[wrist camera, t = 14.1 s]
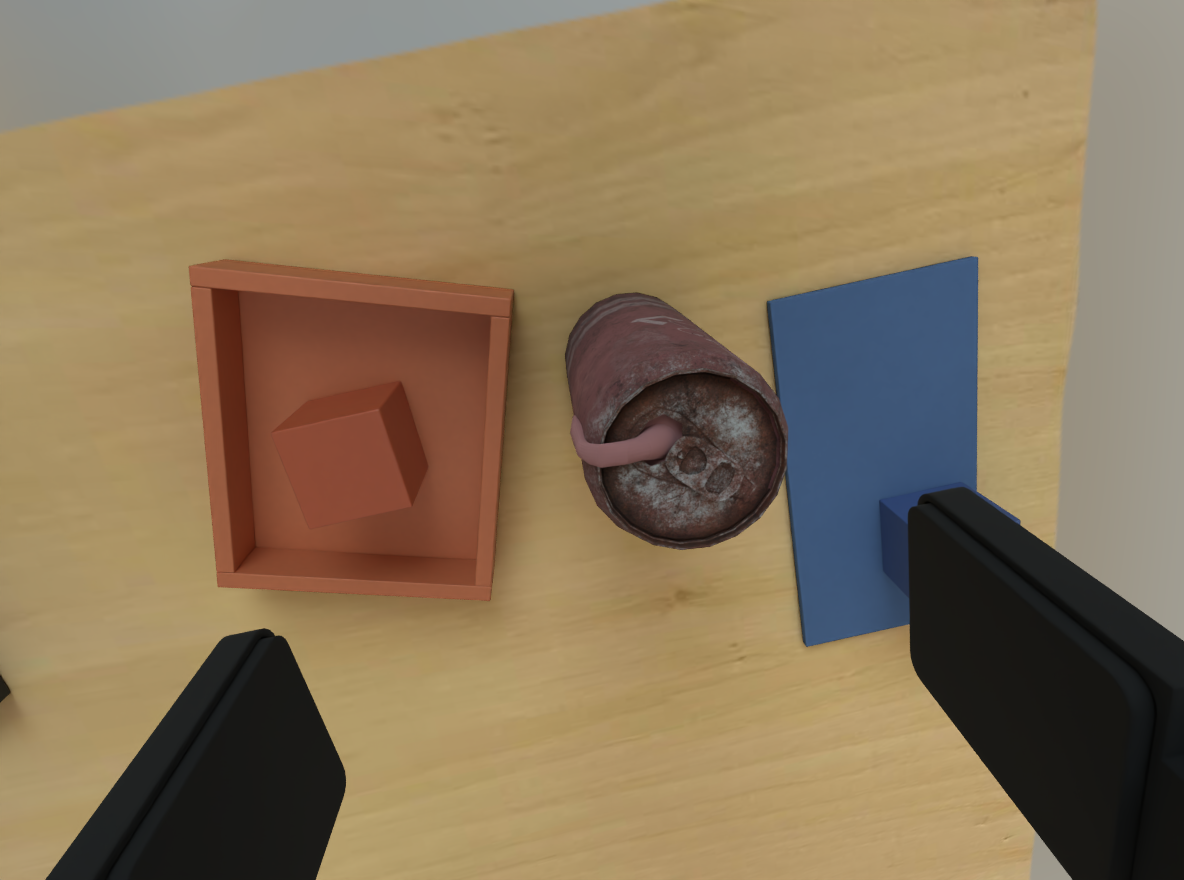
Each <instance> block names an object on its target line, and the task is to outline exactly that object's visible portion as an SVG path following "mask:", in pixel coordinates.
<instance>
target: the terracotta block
mask: <svg viewBox="0 0 1184 880" xmlns="http://www.w3.org/2000/svg"><path fill="white" fill-rule="evenodd" d="M271 437H272V439H273V442H274V444H275V447H276V449H277V452H278V454H279V456H280V459H281V461H282V464H283V466H284V469H285V471H286V474H287V476H288V479H289V481H290V484H291V486H292V489H293V491H294V493H295V496H296V498H297V501H298V503H299V506H300V508H301V511H302V513H303V516H304V518H305V521H306V523H307V525H308V528H309V529H315V528H320V527H324V526H329V525H333V524H338V523H342V522H347V521H352V520H356V519H361V518H365V517H370V516H374V515H379V514H383V513H388V512H392V511H397V510H402V509H406V508H411V507H412V506H413V504H414V501H415V499H416V496H417V494H418V492H419V489H420V487H421V484H422V482H423V480H424V477H425V475H426V472H427V470H428V467H429V466H428V463H427V460H426V457H425V454H424V451H423V448H422V444H421V441H420V438H419V435H418V432H417V429H416V426H415V423H414V419H413V416H412V413H411V410H410V407H409V404H408V401H407V397H406V394H405V391H404V388H403V385H402V382H401V381H396V382H391V383H387V384H382V385H378V386H373V387H369V388H364V389H360V390H355V391H350V392H346V393H341V394H337V395H332V396H328V397H323V398H319V399H314V400H309V401H307V402H306V403H304V404H303V405H302V406H301V407H300V408H299V409H297V410H296V411H295V412H294V413H293V414H292V415H291V416H289V417H288V418H287V419H286V420H285V421H284V422H282V423H281V424H280V425H279V426H278V427H277V428H275V429H274V430H273V431H272V432H271Z"/></svg>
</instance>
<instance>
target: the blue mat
mask: <svg viewBox="0 0 1184 880" xmlns="http://www.w3.org/2000/svg"><path fill="white" fill-rule="evenodd" d="M767 308H768V318H769V327H770V336H771V345H772V355H773V364H774V373H775V383H776V392H777V397H778V398H779V400H780V403H781V406H782V409H783V413H784V416H785V419H786V422H787V425H788V454H787V469H786V472H785V476H786V485H787V494H788V504H789V513H790V522H791V532H792V541H793V550H794V560H795V569H796V578H797V588H798V597H799V606H800V615H801V625H802V634H803V642H804V644H805V645H806V647H808V646H813V645H817V644H822V643H826V642H831V641H835V640H840V639H844V638H849V637H853V636H858V635H862V634H867V633H871V632H876V631H880V630H885V629H889V628H894V627H898V626H903V625H908V624H910V614H909V598H908V597H907V596H906V595H905V594H904V593H903V592H902V591H901V590H900V589H899V588H898V586H897V585H896V584H895V583H894V582H893V581H892V580H891V579H890V578H889V577H888V576H887V575H886V574H885V573H884V571H883V557H882V538H881V519H880V500H881V499H886V498H890V497H895V496H899V495H904V494H908V493H913V492H917V491H922V490H927V489H931V488H936V487H940V486H945V485H949V484H954V483H958V482H963V483H965V484H966V485H968V486H969V487H971V488H972V489H974V490H975V491H977V350H978V257H972V256H971V257H967V258H962V259H958V260H953V261H949V262H944V263H940V264H935V265H930V266H926V267H921V268H917V269H912V270H908V271H903V272H899V273H894V274H889V275H885V276H880V277H876V278H871V279H867V280H862V281H857V282H853V283H848V284H844V285H839V286H835V287H830V288H826V289H821V290H816V291H812V292H807V293H803V294H798V295H794V296H789V297H785V298H780V299H775V300H771V301H767Z"/></svg>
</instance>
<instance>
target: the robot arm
mask: <svg viewBox="0 0 1184 880" xmlns="http://www.w3.org/2000/svg"><path fill="white" fill-rule="evenodd" d="M908 562H909V614H910V654H911V660H912V664H913V666H914V669H915V671H916V673H917V675H918V677H919V678H920V680H921V681H922V683H923V684H924V685H925V687H926V688H927V689H928V691H929V692H930V693H931V695H932V696H933V697H934V698H935V700H936V701H937V702H938V704H939V705H940V706H941V708H942V709H943V710H944V712H945V713H946V714H947V716H948V717H949V718H950V719H951V721H952V722H953V723H954V725H955V726H956V727H957V729H958V730H959V731H960V733H961V734H962V735H963V737H964V738H965V739H966V740H967V742H968V743H969V744H970V746H971V747H972V748H973V750H974V751H975V752H976V754H977V755H978V756H979V758H980V759H981V760H982V761H983V763H984V764H985V765H986V767H987V768H988V769H989V771H990V772H991V773H992V775H993V776H994V777H995V779H996V780H997V781H998V782H999V784H1000V785H1001V786H1002V788H1003V789H1004V790H1005V792H1006V793H1007V794H1008V796H1009V797H1010V798H1011V800H1012V801H1013V802H1014V803H1015V805H1016V806H1017V807H1018V809H1019V810H1020V811H1021V813H1022V814H1023V815H1024V817H1025V818H1026V819H1027V821H1028V822H1029V823H1030V824H1031V826H1032V827H1033V828H1034V830H1035V831H1036V832H1037V834H1038V835H1039V836H1040V838H1041V839H1042V840H1043V841H1044V843H1045V844H1046V845H1047V847H1048V848H1049V849H1050V851H1051V852H1052V853H1053V855H1054V856H1055V857H1056V858H1057V860H1058V861H1059V862H1060V864H1061V865H1062V866H1063V868H1064V869H1065V870H1066V872H1067V873H1068V874H1069V876H1070V877H1071V878H1072V880H1184V641H1183V640H1181V639H1180V638H1179V637H1177V636H1176V635H1174V634H1173V633H1172V632H1170V631H1169V630H1167V629H1166V628H1164V627H1163V626H1162V625H1160V624H1159V623H1157V622H1156V621H1155V620H1153V619H1152V618H1150V617H1149V616H1148V615H1146V614H1145V613H1143V612H1142V611H1140V610H1139V609H1138V608H1136V607H1135V606H1133V605H1132V604H1131V603H1129V602H1128V601H1126V600H1125V599H1124V598H1122V597H1121V596H1119V595H1118V594H1116V593H1115V592H1114V591H1112V590H1111V589H1109V588H1108V587H1107V586H1105V585H1104V584H1102V583H1101V582H1099V581H1098V580H1097V579H1095V578H1094V577H1092V576H1091V575H1090V574H1088V573H1087V572H1085V571H1084V570H1082V569H1081V568H1080V567H1078V566H1077V565H1075V564H1074V563H1073V562H1071V561H1070V560H1068V559H1067V558H1066V557H1064V556H1063V555H1061V554H1060V553H1059V552H1057V551H1056V550H1054V549H1053V548H1051V547H1050V546H1049V545H1047V544H1046V543H1044V542H1043V541H1042V540H1040V539H1039V538H1037V537H1036V536H1035V535H1033V534H1032V533H1030V532H1029V531H1027V530H1026V529H1025V528H1023V527H1022V526H1020V525H1019V524H1018V523H1016V522H1015V521H1013V520H1012V519H1011V518H1009V517H1008V516H1006V515H1005V514H1003V513H1002V512H1001V511H999V510H998V509H996V508H995V507H994V506H992V505H991V504H989V503H988V502H986V501H985V500H984V499H982V498H981V497H979V496H978V495H977V494H975V493H974V492H972V491H971V490H970V489H968V488H965V487H956V488H951V489H947V490H942V491H937V492H932V493H927V494H923V495H922V496H920V498H919V500H918V504H917V506H913V507H911V508H910V509H909V512H908ZM345 787H346V775H345V770H344V767H343V764H342V762H341V760H340V758H339V755H338V753H337V751H336V749H335V746H334V744H333V742H332V740H331V738H330V735H329V733H328V731H327V729H326V726H325V724H324V722H323V720H322V718H321V715H320V713H319V711H318V709H317V707H316V704H315V702H314V700H313V698H312V695H311V693H310V691H309V689H308V687H307V684H306V682H305V680H304V678H303V675H302V673H301V671H300V669H299V667H298V664H297V662H296V660H295V658H294V655H293V653H292V651H291V649H290V647H289V644H288V642H287V641H286V639H285V638H284V637H282V636H275V635H274V633H273V632H271V631H270V630H269V629H265V628H264V629H259V630H254V631H249V632H244V633H239V634H234V635H229V636H226V637H224V638H223V639H222V640H221V641H220V642H219V643H218V644H217V645H216V647H215V648H214V649H213V651H212V652H211V654H210V655H209V656H208V658H207V659H206V660H205V662H204V663H203V665H202V666H201V667H200V669H199V670H198V671H197V673H196V674H195V676H194V677H193V678H192V680H191V681H190V682H189V684H188V685H187V686H186V688H185V689H184V691H183V692H182V693H181V695H180V696H179V697H178V699H177V700H176V702H175V703H174V704H173V706H172V707H171V708H170V710H169V711H168V713H167V714H166V715H165V717H164V718H163V719H162V721H161V722H160V723H159V725H158V726H157V728H156V729H155V730H154V732H153V733H152V734H151V736H150V737H149V739H148V740H147V741H146V743H145V744H144V745H143V747H142V748H141V749H140V751H139V752H138V754H137V755H136V756H135V758H134V759H133V760H132V762H131V763H130V765H129V766H128V767H127V769H126V770H125V771H124V773H123V774H122V776H121V777H120V778H119V780H118V781H117V782H116V784H115V785H114V786H113V788H112V789H111V791H110V792H109V793H108V795H107V796H106V797H105V799H104V800H103V802H102V803H101V804H100V806H99V807H98V808H97V810H96V811H95V813H94V814H93V815H92V817H91V818H90V819H89V821H88V822H87V823H86V825H85V826H84V828H83V829H82V830H81V832H80V833H79V834H78V836H77V837H76V839H75V840H74V841H73V843H72V844H71V845H70V847H69V848H68V849H67V851H66V852H65V854H64V855H63V856H62V858H61V859H60V860H59V862H58V863H57V865H56V866H55V867H54V869H53V870H52V871H51V873H50V874H49V876H48V877H47V878H46V880H316V877H317V874H318V871H319V868H320V865H321V862H322V859H323V856H324V853H325V850H326V847H327V844H328V841H329V838H330V835H331V833H332V830H333V827H334V824H335V821H336V818H337V815H338V812H339V809H340V806H341V803H342V800H343V797H344V793H345Z"/></svg>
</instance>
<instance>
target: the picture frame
mask: <svg viewBox="0 0 1184 880" xmlns="http://www.w3.org/2000/svg"><path fill="white" fill-rule="evenodd" d="M9 694H10V691H9V689H8V688H7V686H6V684H5V683H4V681H3V680H2V678H1V676H0V702H1V701H2V700H3V699H4V698H5V697H7V696H8V695H9Z"/></svg>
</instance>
